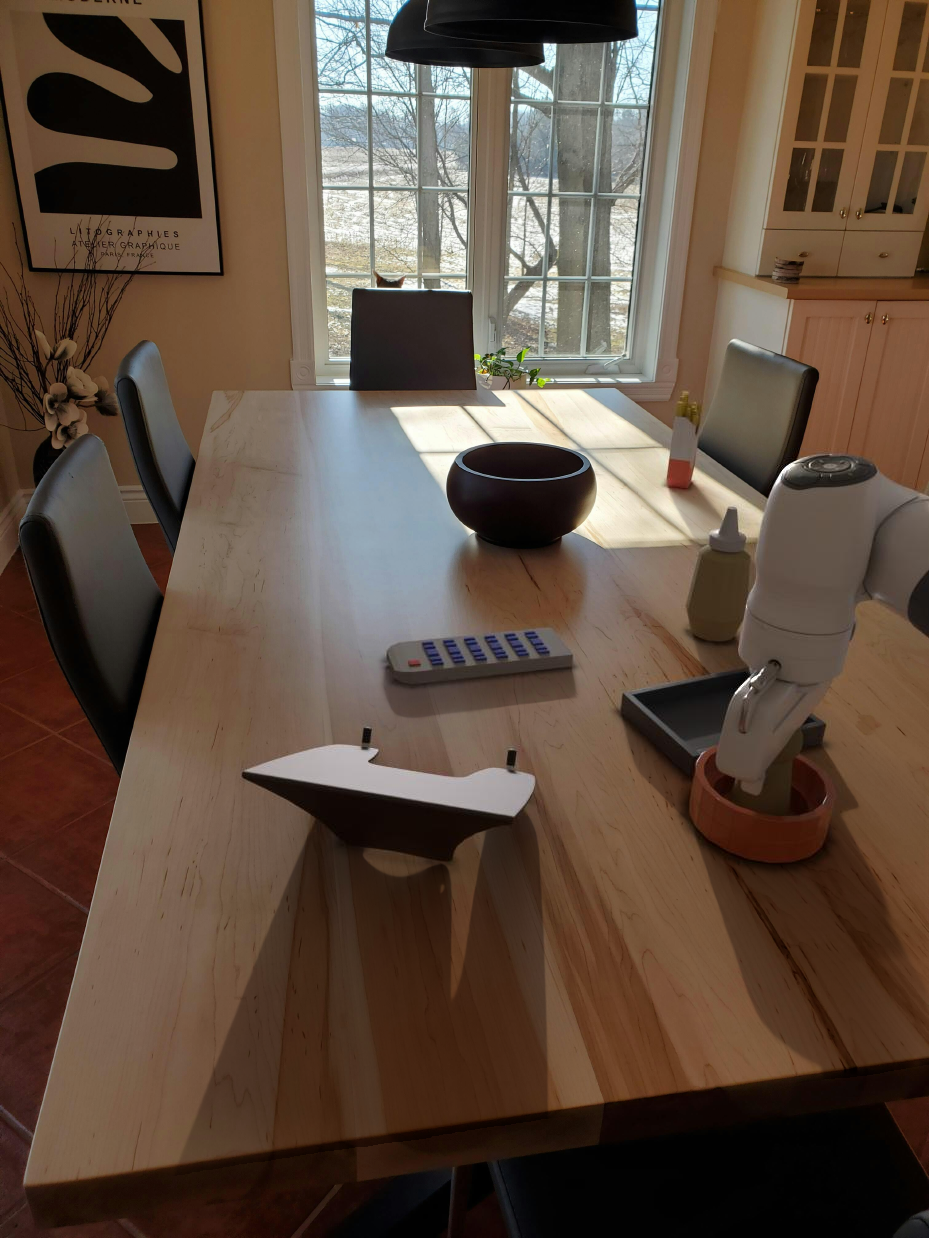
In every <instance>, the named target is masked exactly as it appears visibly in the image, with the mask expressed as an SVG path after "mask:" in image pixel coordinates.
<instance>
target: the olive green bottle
mask: <svg viewBox="0 0 929 1238" xmlns="http://www.w3.org/2000/svg"><path fill="white" fill-rule="evenodd" d="M802 745H803V734H802V732H801V729H800V727H799V728H798V729H797V730H796V731H795V732H794V734H793V735H792V737H791V738H790V740H789V741H788V743H787V744H786V745H785V747H784V748H783V749H782V750H781V752H780V753H779V754H778V755H777V757H776V758H775V759H774V760H773V762H772V763H771V764H770V766H769V767H768V768H767V769H766V772H765V773H767V774H768V776H767V780H766V785H765V787H764V789H763V790H762V791H761V792H760V794H759V795H753V794H750V793H748V792H745V791H743V790H742V789H741V782H742V781H741V780H739V779H735V782H734V785H733V787H732V790H731V793H730V796H729V798H728V801H730V802H732V803H734V804H735V805H737V806H739V807H742V808H745V809H748V810H751V811H754V812H757V813H762V814H768V815H774V816H789V809H790V793H791V776H792V760H793V759H795V758H796V757H797V755H798V754H800V752H801V751H802Z"/></svg>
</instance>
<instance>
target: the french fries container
mask: <svg viewBox="0 0 929 1238" xmlns="http://www.w3.org/2000/svg"><path fill="white" fill-rule="evenodd" d="M689 398H690V391H686V390H682V392H681V395H680V396H679V400H678V401H677V403H676V412H675V415H674V418H673V426H672V433H671V441H670V448H669V449H670V450H669V457H668V465H667V473H666V486H667V487H670V488H671V487H672V488H680V489H686V490H687V489H689V487H690V484H691V483H692V479H693V474H694V469H695V465H696V459H697V458H696V457H697V452H698V443H699V438H700V437H699V436H700V430H701V423H702V413H703V403H701V402H694V401H693V402H692V403H689Z"/></svg>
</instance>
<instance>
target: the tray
mask: <svg viewBox="0 0 929 1238" xmlns="http://www.w3.org/2000/svg"><path fill="white" fill-rule="evenodd" d="M750 676H751V673H750V668H748V667H739V668H735V669H731V670H726V671H721V672H717V673H716V672H715V673H712V674H705V675H702V676H696V677H692V678H688V679H687V678H686V679H681V680H678V681H673V682H667V683H664V684H663V683H662V684H659V685H652V686H649V687H644V688H639V689H634V690H629V691H625V692H624V691H623V692H622V694H621V695H622V696H621V703H620V711H619V712H620V713H621V714H622V716H624V717H625V718H626V719H627V720H628V721H630V723H632V724H633V725H634V727H635V728H637V729H638V730H639V731H640V732H641V733H642V734H643V735H644V736H646V738H647V739H648V740H650V741H651V742H652V743H653V744H654V746H656V747H657V748H658V749H659V750H660V751H661V752H662V753H663V754H664V755H665V756H667V758H669V759H670V760H671V761H672V762H673V763H674V764H675V765H676V766H677V767H678V768H679V769H680V770H681V771H683V772H684V773H685V774H686V775H687V776H688V777H689V778H692V777H694V772H695V766H696V762H697V760H698V759H699V757H700V756H701V754H702V753H703V752H704V751H706V750H708V749H709V748H711V747H713V746H715V745H719V742H720V737H721V733H722V729H723V725H724V721H725V717H726V714H727V710H728V707H729V704H730V702H731V699H732V697H733V695H734V694H735V692H736V691H737V690H738V688H739V687H740V686H741V685H742V684H743V683H744V682H745V681H746V680H747V679H748V678H749V677H750ZM826 728H827V723H826V722H824V721H823V720H822V719H821V718H819V717H817V716H816V715H815V714H813V712H812V713H811V714H810V715H809V716H808V718H807V719H806V720H805V721H804V723H803V724H802V725H801V726H800V729H801V732H802V734H803V745H802V749H803V750H804V749H806V748H810V747H814V746H818V745H822V744H823V742H824V737H825V732H826ZM802 749H801V750H802Z"/></svg>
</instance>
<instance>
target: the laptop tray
mask: <svg viewBox="0 0 929 1238" xmlns="http://www.w3.org/2000/svg"><path fill="white" fill-rule="evenodd" d="M372 732H373V729H372V727H370V726H364V727H363V730H362V736H361V737H362V738H361V745H360V746H359V745H352V744H329V745H324V746H320V747H315V748H309V749H306V750H303V751H299V752H296V753H292V754H288V755H286V756H282V757H279V758H275V759H273V760H270V761H269V760H268V761H266V762H264V763H261V764H258V765H255V766H252V767H250V768H247V769H244V770H242V772H241V778H242V779H243V780H246V781H247V782H250V783H252V784H254V785H256V786H258V787H261V788H262V789H264V790H267V791H268V792H270V793H272V794H274V795H276V796H278V797H280V798H283V799H284V800H285V801H288V802H290V803H291V804H293V805H294V806H296V807H298V808H299V809H301V810H303V811H304V812H306V813H308V814H309V815H310V816H312V817H313V818H314V819H316V820H317V821H318V822H320V823H321V824H322V825H324V826H325V827H326V828H327V829H329V831H330V832H331V833H332V834H333V835H334V836H335V837H336V838H337V839H338V840H339V841H340V842H342V843H344V844H345V845H349V846H355V847H359V848H367V849H375V850H382V851H389V852H394V853H400V854H404V855H409V856H414V857H418V858H423V859H428V860H432V861H437V862H443V863H449V862H452V861H453V859H454V855H455V852H456V850H457V848H458V847H459V846H460V845H461V844H462V843H463V842H464V841H466V840H467V839H469V838H470V837H473V836H474V835H476V834H479V833H483V832H485V831H489V830H492V829H496V828H500V827H505V826H509V825H513V824H514V822H515V820H516V818H517V817H518V816H519V815H520V814H521V813H522V812H523V810H524V809H525V808H526V807H527V806H528V803H529V802H530V800H531V798H532V796H533V795H534V791H535V787H536V778H535V776H534V775H533V774H531V773H527V772H523V771H519V770H515V767H516V761H517V753H518V751H517V750H516V749H514V748H509V749H507V755H506V764H505V765H506V768H502V767H488V768H485V769H482V770H479V771H476V772H473V773H471V774H470V775H467V776H460V777H459V776H449V775H440V774H433V773H427V772H421V771H414V770H410V769H402V768H396V767H390V766H384V765H379V764H374V763H371V762H372V761H374V759H375V758H376V757H377V756H378V755H379V751H380V750H379V749H378V748H373V747H370V744H371V740H372Z"/></svg>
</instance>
